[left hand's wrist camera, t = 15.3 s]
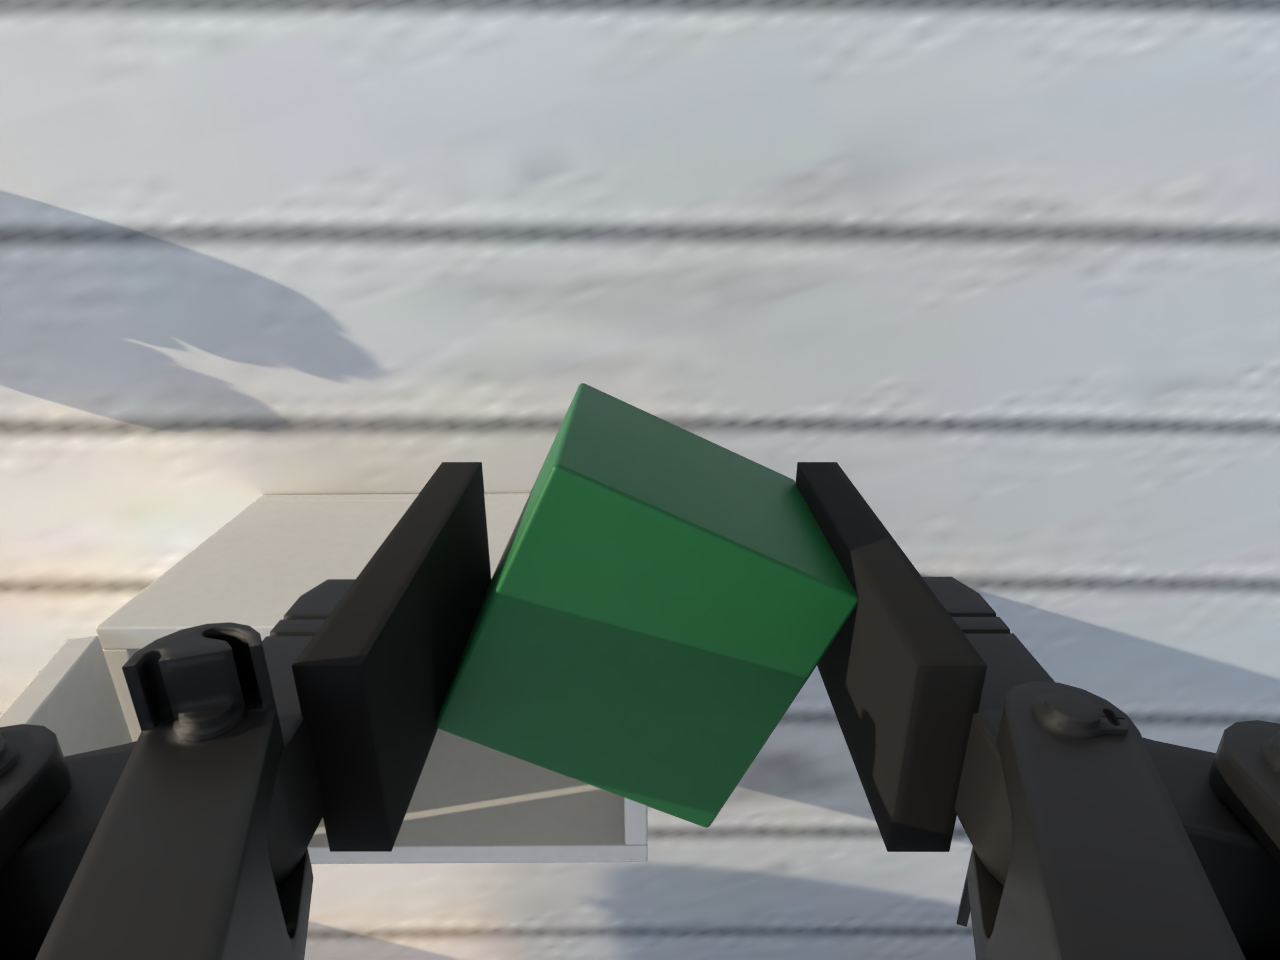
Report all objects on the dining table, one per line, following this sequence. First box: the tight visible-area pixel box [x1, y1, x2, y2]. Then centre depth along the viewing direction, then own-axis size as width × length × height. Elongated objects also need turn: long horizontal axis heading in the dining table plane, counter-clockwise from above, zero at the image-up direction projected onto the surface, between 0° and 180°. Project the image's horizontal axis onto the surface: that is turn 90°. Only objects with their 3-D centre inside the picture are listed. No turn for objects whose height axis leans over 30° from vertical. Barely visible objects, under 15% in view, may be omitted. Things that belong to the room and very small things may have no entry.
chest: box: [96, 493, 647, 864], centre depth 30 cm, size 17×10×11 cm, turn 90°
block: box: [436, 384, 858, 827], centre depth 13 cm, size 5×5×5 cm
